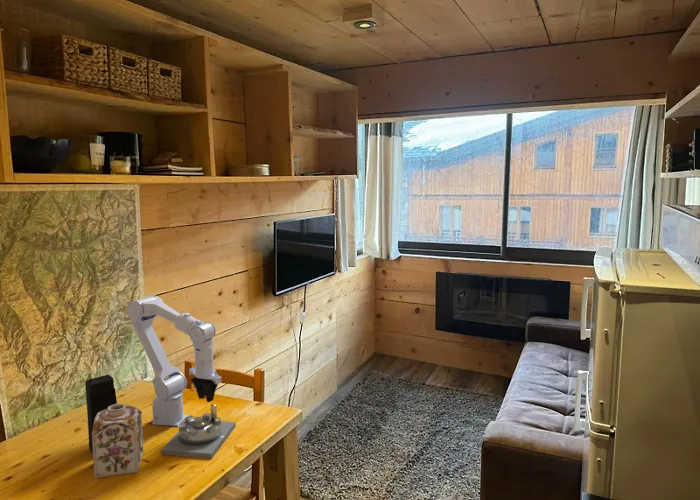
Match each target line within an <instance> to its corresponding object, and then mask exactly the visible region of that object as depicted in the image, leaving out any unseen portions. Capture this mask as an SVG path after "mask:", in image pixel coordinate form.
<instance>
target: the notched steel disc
mask: <svg viewBox="0 0 700 500" xmlns="http://www.w3.org/2000/svg"><path fill="white" fill-rule="evenodd" d="M221 421H222V419H221V417H220V416H219V417H218V404H217V403H212V404H210V412H205V413H203V415H202V416H196V417H195V416H193V415H191V414H190V415H188V416H187V417H185V420H184V421H183V422H182V423H181V424H179V426H178V432H179V440H180V441H181V442H182V443H184V444H188V445H202V444H207V443H210V442H212V441H214V440H216V439H217V438H219V437H220V435H221Z"/></svg>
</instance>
